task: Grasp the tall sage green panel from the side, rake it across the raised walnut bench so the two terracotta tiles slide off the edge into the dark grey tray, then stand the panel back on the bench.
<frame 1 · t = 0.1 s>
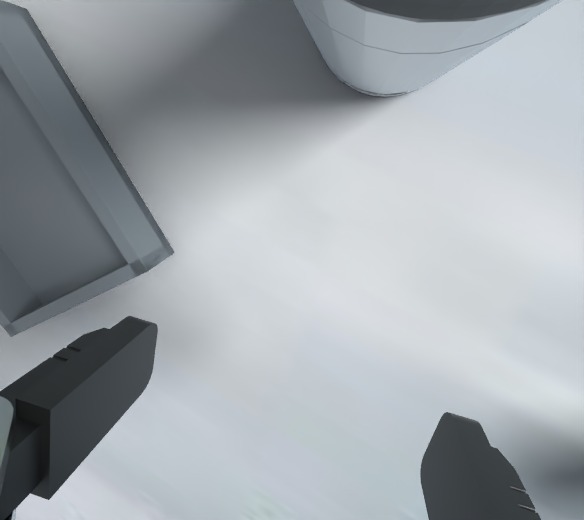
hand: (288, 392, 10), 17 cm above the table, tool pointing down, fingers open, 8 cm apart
tray: (39, 185, 29), on the table
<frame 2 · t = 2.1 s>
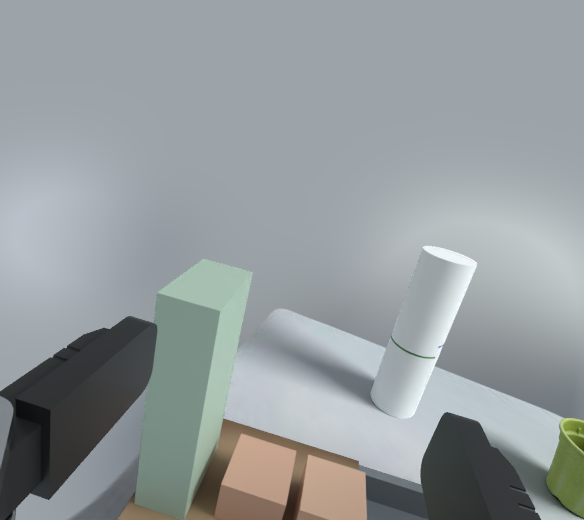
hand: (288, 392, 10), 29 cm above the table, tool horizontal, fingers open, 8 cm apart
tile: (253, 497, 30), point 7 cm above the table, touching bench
cylindrical container: (392, 402, 57), on the table
plant pot: (570, 498, 46), on the table
tall sage green panel: (180, 472, 30), point 7 cm above the table, touching bench
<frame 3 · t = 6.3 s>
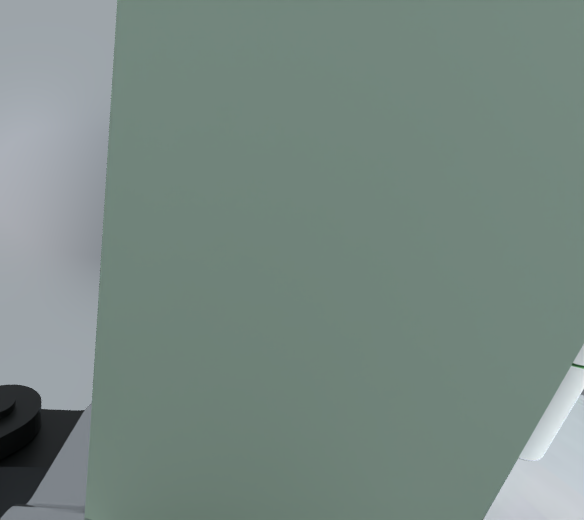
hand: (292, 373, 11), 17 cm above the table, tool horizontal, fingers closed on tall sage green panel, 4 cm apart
cylindrical container: (504, 432, 38), on the table
when the fingers open (17 cm above the table, at t = 13.2 s): tall sage green panel stays where it is, resting on bench.
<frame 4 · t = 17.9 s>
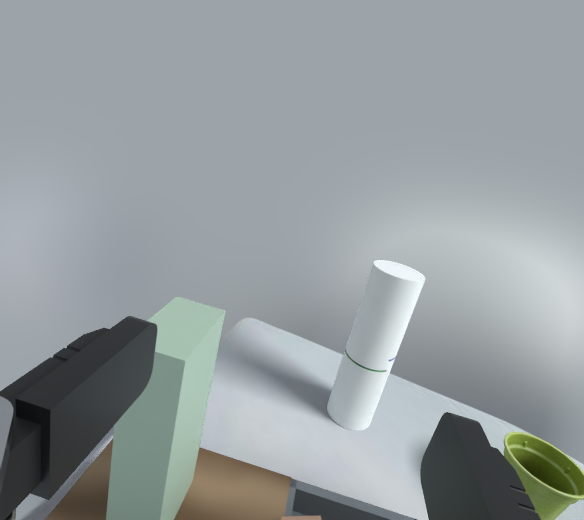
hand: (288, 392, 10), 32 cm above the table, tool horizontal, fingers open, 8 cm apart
cylindrical container: (348, 413, 57), on the table
plant pot: (515, 511, 47), on the table
tall sage green panel: (152, 509, 30), point 7 cm above the table, touching bench
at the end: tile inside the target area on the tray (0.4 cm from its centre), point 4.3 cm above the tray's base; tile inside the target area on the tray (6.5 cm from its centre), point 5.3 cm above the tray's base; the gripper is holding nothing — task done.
